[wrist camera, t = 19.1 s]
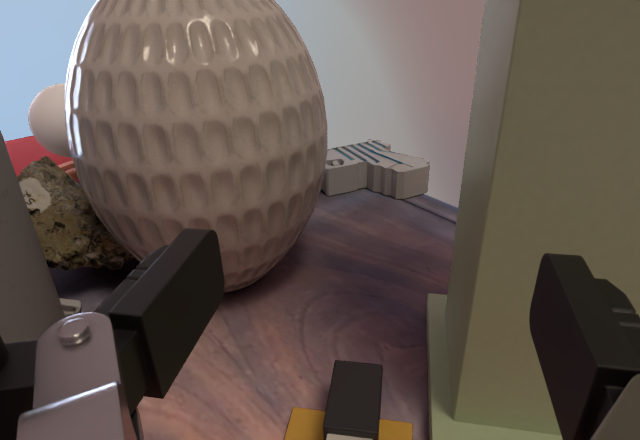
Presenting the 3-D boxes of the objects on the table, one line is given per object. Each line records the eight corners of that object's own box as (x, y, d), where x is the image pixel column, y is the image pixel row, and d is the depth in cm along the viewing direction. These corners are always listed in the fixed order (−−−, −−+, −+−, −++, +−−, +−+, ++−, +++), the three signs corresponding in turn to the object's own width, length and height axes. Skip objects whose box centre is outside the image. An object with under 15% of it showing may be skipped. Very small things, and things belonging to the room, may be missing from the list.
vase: (76, 268, 36) (-29, -68, 26) (247, 202, 46) (219, -60, 36) (182, 381, 26) (76, -105, 15) (373, 265, 36) (385, -80, 25)
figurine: (70, 88, 31) (145, 57, 42) (-4, 97, 32) (88, 65, 42) (111, 197, 35) (171, 144, 45) (45, 203, 36) (118, 149, 46)
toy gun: (436, 164, 46) (382, 136, 54) (302, 193, 41) (264, 158, 49) (433, 191, 48) (380, 161, 56) (304, 224, 42) (266, 184, 50)
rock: (114, 320, 33) (-22, 241, 26) (85, 269, 39) (-30, 196, 33) (170, 260, 34) (52, 169, 27) (132, 220, 41) (30, 139, 34)
